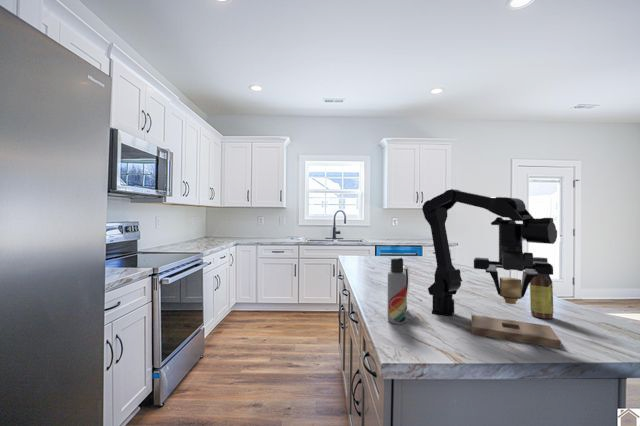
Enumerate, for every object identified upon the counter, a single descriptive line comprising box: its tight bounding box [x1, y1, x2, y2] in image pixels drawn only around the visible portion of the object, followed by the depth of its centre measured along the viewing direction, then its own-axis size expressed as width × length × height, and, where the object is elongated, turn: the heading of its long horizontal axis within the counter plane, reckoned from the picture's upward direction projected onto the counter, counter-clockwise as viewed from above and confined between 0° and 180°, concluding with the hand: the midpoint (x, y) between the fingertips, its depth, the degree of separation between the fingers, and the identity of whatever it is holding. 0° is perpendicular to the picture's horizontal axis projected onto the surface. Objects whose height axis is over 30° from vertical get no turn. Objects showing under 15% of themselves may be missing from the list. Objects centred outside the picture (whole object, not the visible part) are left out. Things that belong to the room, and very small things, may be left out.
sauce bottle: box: [529, 256, 554, 320], centre depth 100 cm, size 7×6×20 cm
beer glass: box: [389, 266, 411, 312], centre depth 106 cm, size 7×7×15 cm
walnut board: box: [470, 314, 562, 349], centre depth 84 cm, size 20×12×2 cm, turn 63°
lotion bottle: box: [387, 257, 407, 325], centre depth 93 cm, size 6×6×20 cm
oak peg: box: [499, 276, 523, 305], centre depth 85 cm, size 5×5×7 cm
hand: (510, 295), depth 85 cm, fingers closed on oak peg, 5 cm apart
